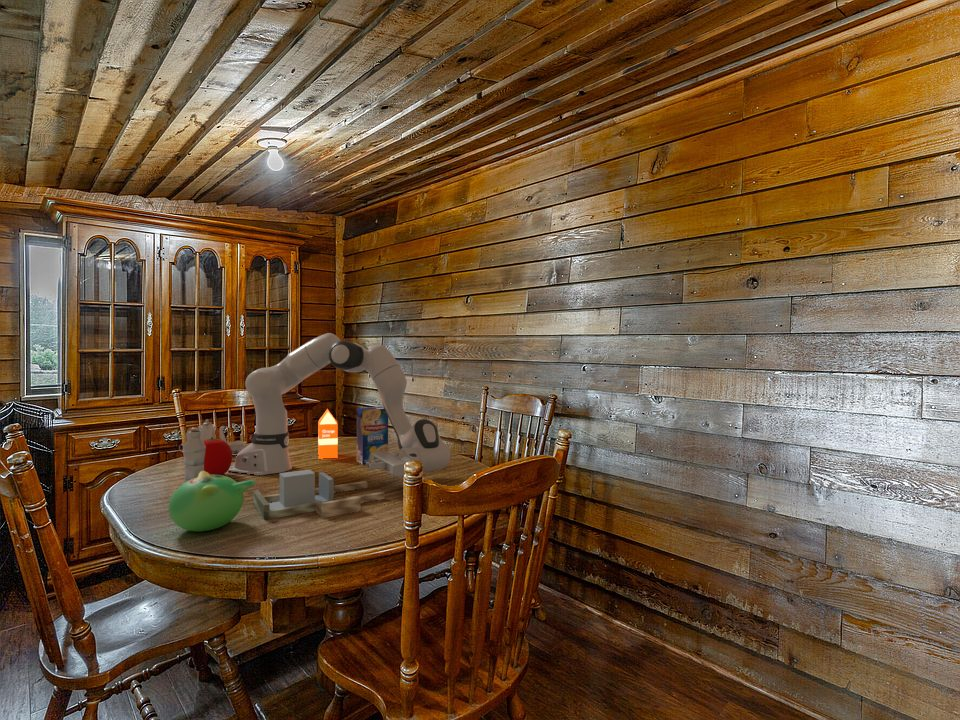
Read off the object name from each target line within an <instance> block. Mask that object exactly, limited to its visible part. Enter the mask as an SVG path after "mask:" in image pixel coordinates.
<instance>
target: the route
mask: <svg viewBox="0 0 960 720" xmlns="http://www.w3.org/2000/svg"><path fill="white" fill-rule="evenodd" d="M362 488H363V489H368V481H367V480H363V481H357V482H349V483H343V484H335V485H334V494H336V492H337V493H343V491H344V492H349V490H350V491H356V490H355V489H357V490H362ZM316 495H319V487H315V496H316ZM381 499H384V500H385V492H384V491H381V492H380V491H379V492H373V493H367V494H366V493H365V494H361V495H354V496H347V497H345V498H341V499H335V500H334V501H328V502H322V503H320V502H316V503H310V504H304V505H297V506H291V507H285V508H279V509H272V510H270V505H269V503H271V502H279V493H272V494H267V495H262V493H261V492H260V491H259V489H256V490H252V505H253V507H255V509H256V510H257V512H258V513H259V515H260V516H261V518H262V519H263V521H264V520H269V519H270V520H271V519H275V518H281V517H288V516H294V515H299V514H304V513H313V512H316V513H317V514H318V515H319V516H320V517H321V518H323V519H327V518H329V517H330V518H331V517H338V516H342V514H343V515H348V513H349V514H353V513H352V512H354V513H359V511H360V512H361V504H365V503H364V502H366V503H370V502H369V501H372V502H376V501H375V500H378V501H382V500H381Z"/></svg>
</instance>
